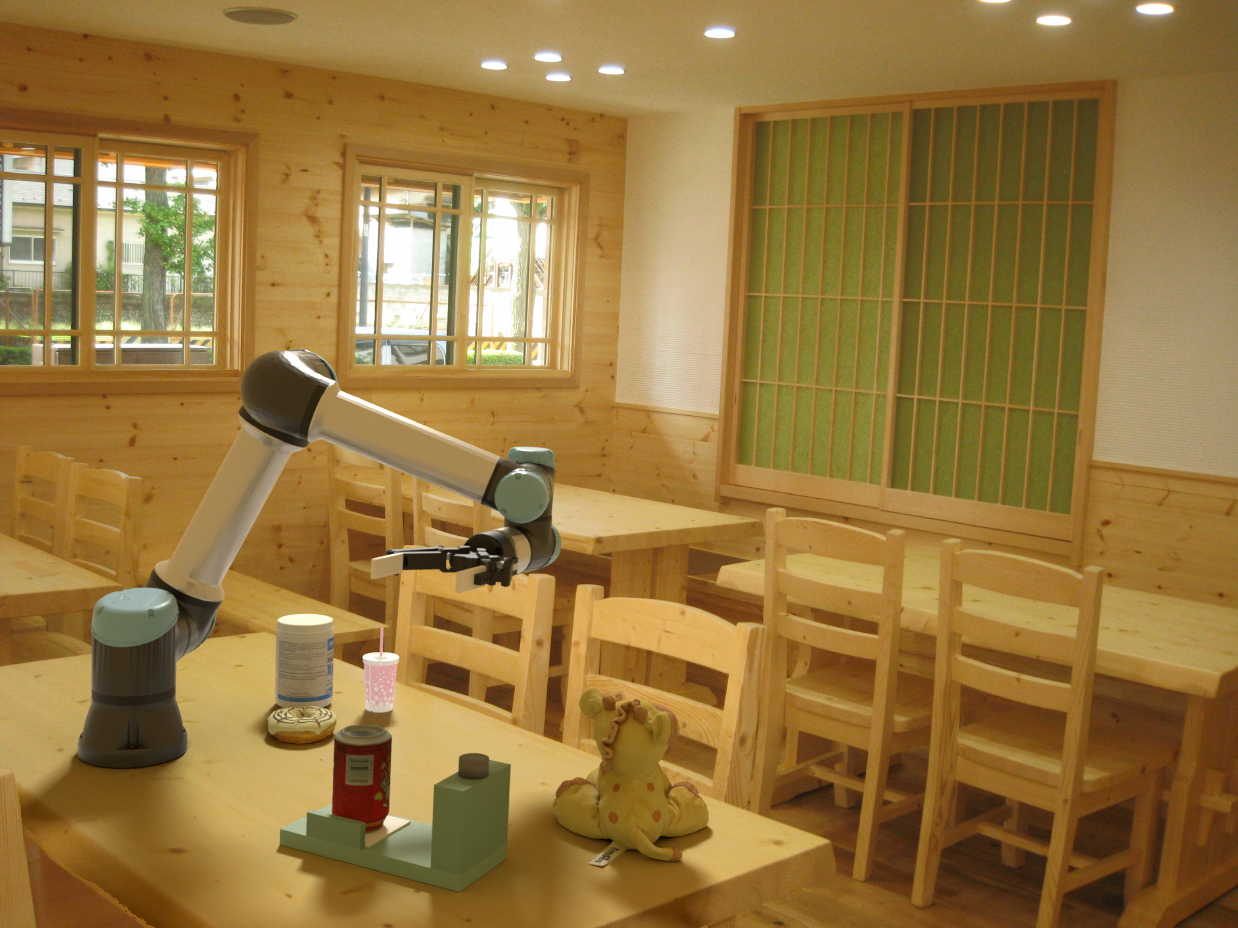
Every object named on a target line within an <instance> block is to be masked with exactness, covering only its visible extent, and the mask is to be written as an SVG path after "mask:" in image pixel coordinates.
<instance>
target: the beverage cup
mask: <svg viewBox="0 0 1238 928" xmlns="http://www.w3.org/2000/svg"><path fill="white" fill-rule="evenodd" d="M379 637H380V639H379V652H370V653H365V654H363V656H362V663H363V664H364V665H363V669H364V670H363V671H364V672H363V673H364V699H365V700H364V701H365V702H364V703H365V709H366V711H368V712H371V711H373V712H372V713H386V712H387V713H388V712H390V711H393V709H394V701H395V691H396V681H397V673H398V671H397V670H398V663H399V662H400V656H399V655H398V654H396V653H393V652H384V627H382V626H381V627H380V634H379Z"/></svg>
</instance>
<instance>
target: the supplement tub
mask: <svg viewBox="0 0 1238 928" xmlns="http://www.w3.org/2000/svg"><path fill="white" fill-rule="evenodd" d="M276 623H277V624H276V630H275V682H274V683H275V686H274V689H275V690H274V692H275V693H274V695H275V698H274V700H275V703H276V705H277V706H279V707H280V708H284V707H288V706H318V707H322V708H326V707H327V706H329V705H330V704H331V703H332V701H333V696H334V695H333V694H334V691H333V690H334V689H333V688H334V650H335V649H334V648H335V647H334V646H335V644H334V642H335V626H334V618H333V617H331V616H329V615H324V614H318V613H317V614H315V613H300V614H299V613H297V614H296V613H295V614H288V615H284V616H281V617H279V618H278V619H277V622H276Z"/></svg>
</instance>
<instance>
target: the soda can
mask: <svg viewBox="0 0 1238 928" xmlns="http://www.w3.org/2000/svg"><path fill="white" fill-rule="evenodd" d="M392 743H393V736H392V734H391V733H390V732H389V730H388V729H385V728H384V727H383V726H380V725H375V724H372V723H371V724H370V723H363V724H352V725H347V726H345V727H343V728H342V729H340V730H338V731H337V732H336V733H335V734H334V738H333V768H332V769H333V770H332V795H331V796H332V797H331V799H332V800H331V803H332V814H333V815H336V816H340V817H344V818H349V819H353V820H357V821H361V822H365V823H366V831H365V834H366V833H372V832H375V831H377V830H379V829H381V828H382V827H383V822H384V820H385V819H386V817H387V816H388V814H389V813H390V801H391V800H390V798H391V797H390V795H391V771H392V750H393V749H392V746H393V744H392Z"/></svg>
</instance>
